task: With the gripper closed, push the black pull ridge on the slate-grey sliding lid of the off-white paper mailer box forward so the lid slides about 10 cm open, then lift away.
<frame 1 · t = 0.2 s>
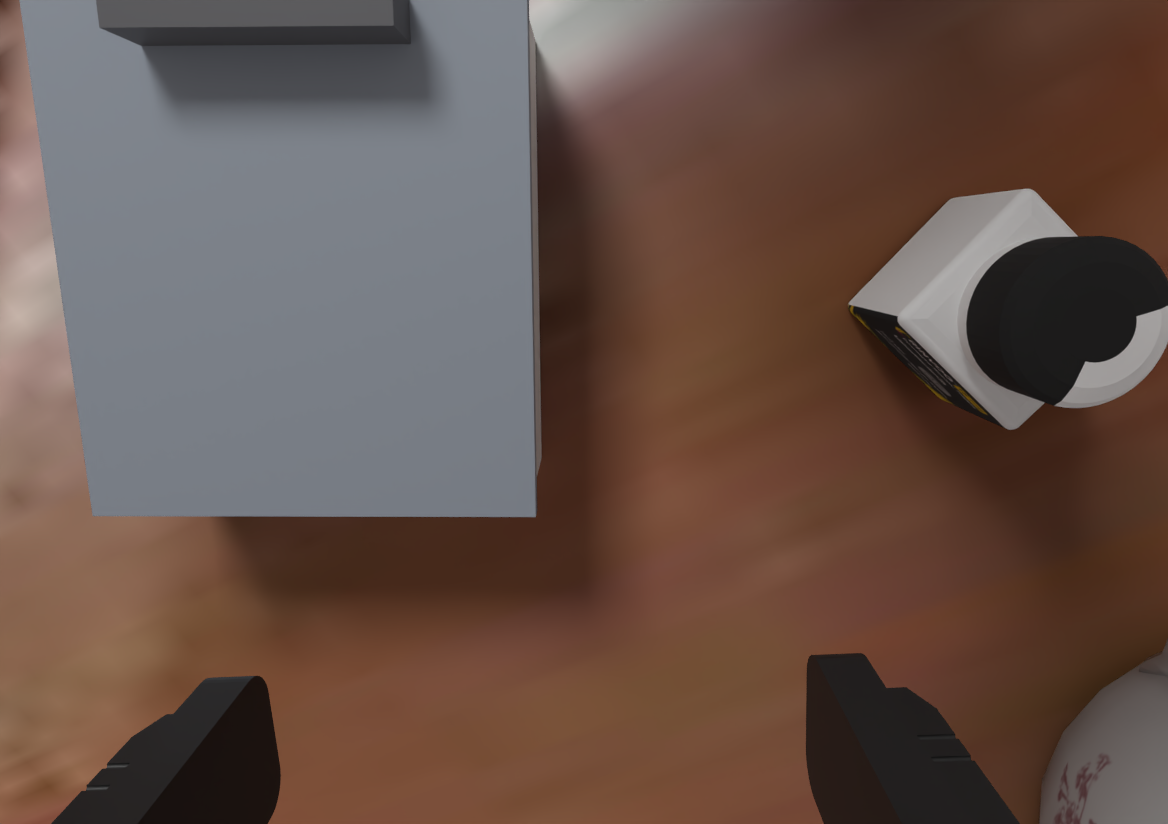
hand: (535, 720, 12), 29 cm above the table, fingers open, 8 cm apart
medicine bottle: (944, 300, 39), on the table
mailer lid: (284, 266, 30), point 9 cm above the table, slide at 0.0 cm
mailer box: (355, 261, 38), on the table
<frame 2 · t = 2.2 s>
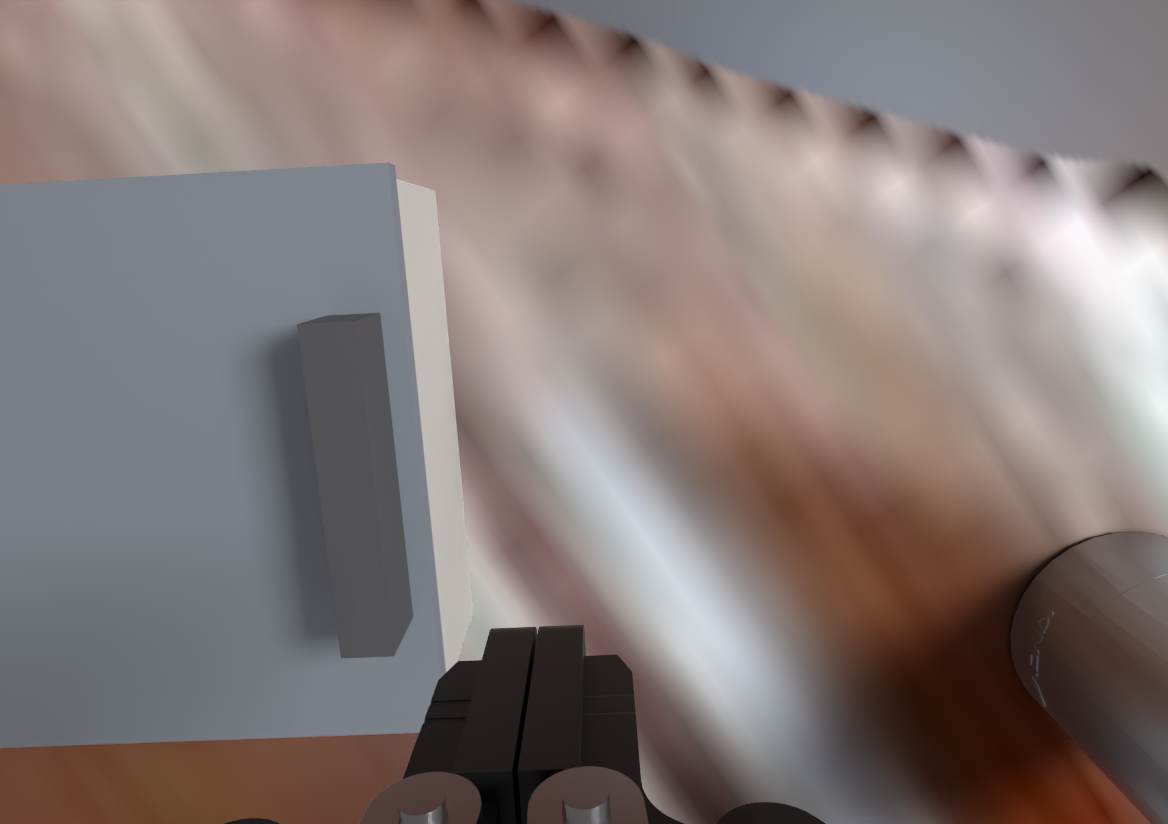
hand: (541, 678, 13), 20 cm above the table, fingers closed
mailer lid: (82, 493, 24), point 9 cm above the table, slide at 0.0 cm
mailer box: (219, 425, 33), on the table
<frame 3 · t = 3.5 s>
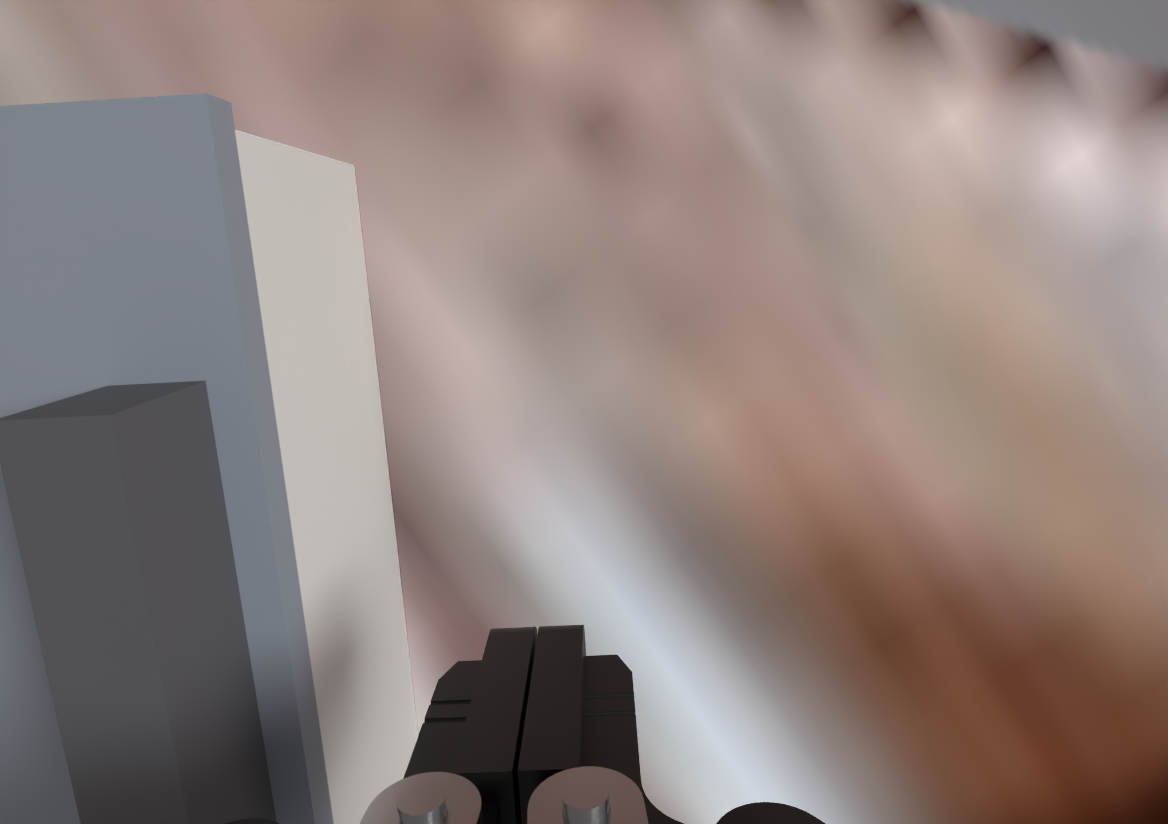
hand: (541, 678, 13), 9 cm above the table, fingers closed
mailer box: (37, 522, 22), on the table
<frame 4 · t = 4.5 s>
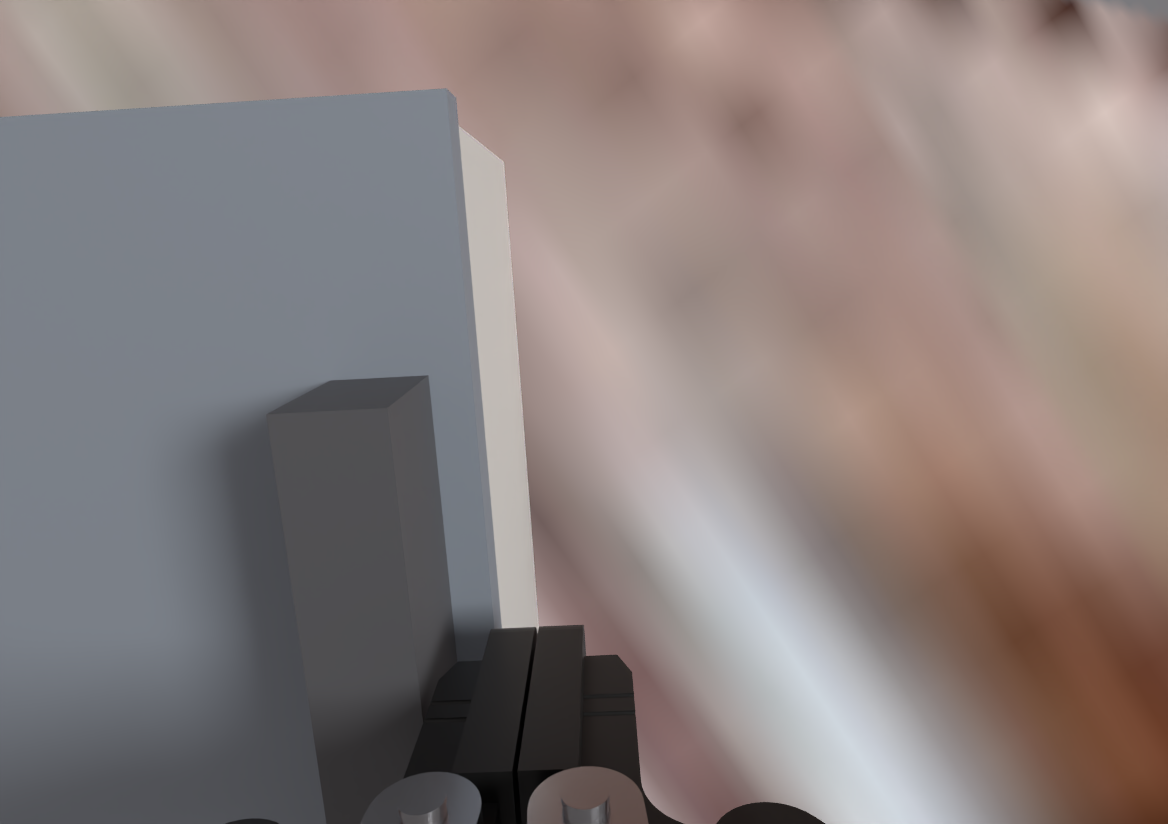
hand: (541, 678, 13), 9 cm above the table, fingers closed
mailer box: (173, 519, 22), on the table
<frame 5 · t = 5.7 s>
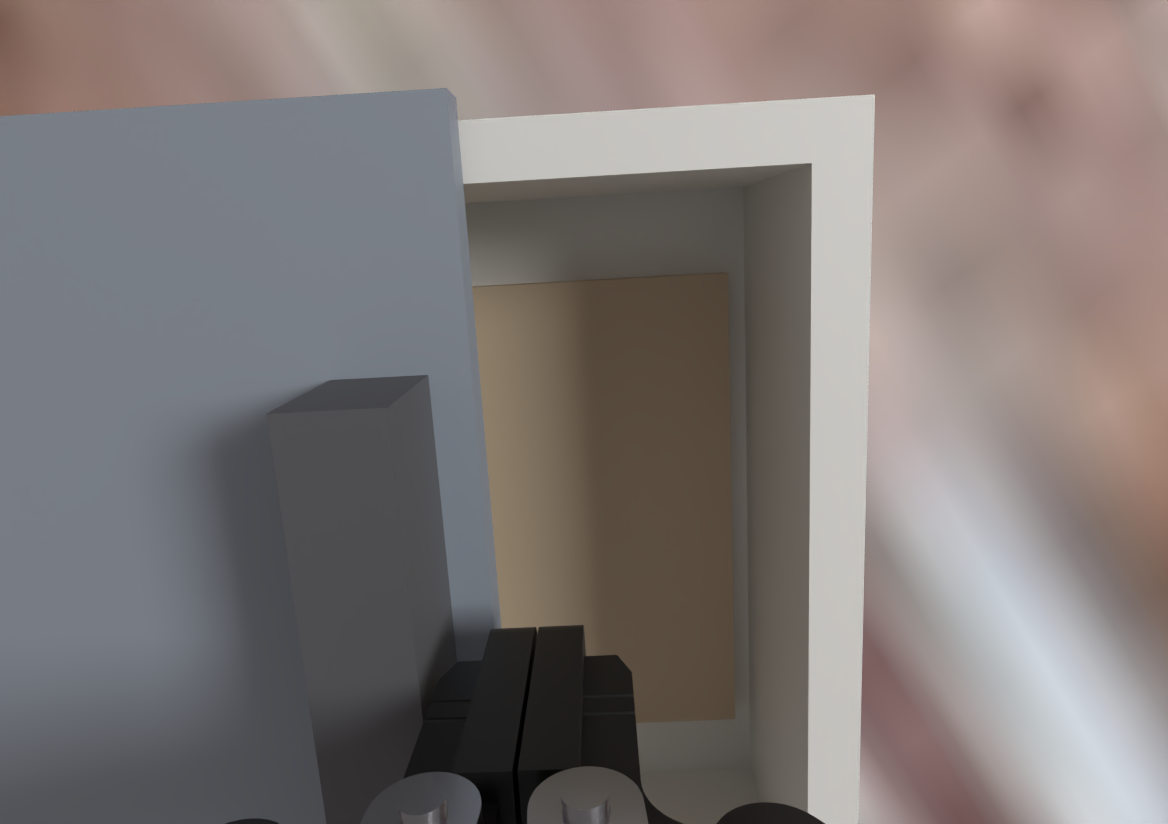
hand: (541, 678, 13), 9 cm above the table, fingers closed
mailer box: (415, 507, 22), on the table
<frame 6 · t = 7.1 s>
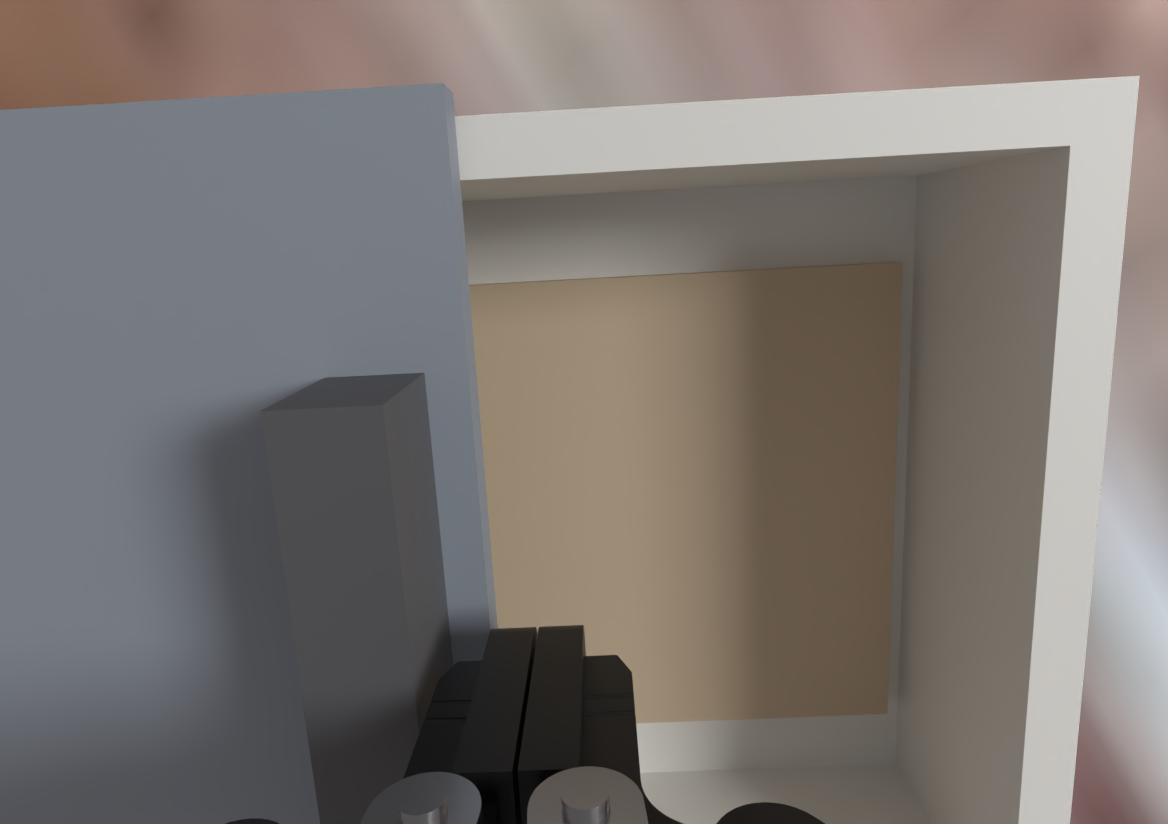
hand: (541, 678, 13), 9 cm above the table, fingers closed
mailer box: (562, 500, 21), on the table
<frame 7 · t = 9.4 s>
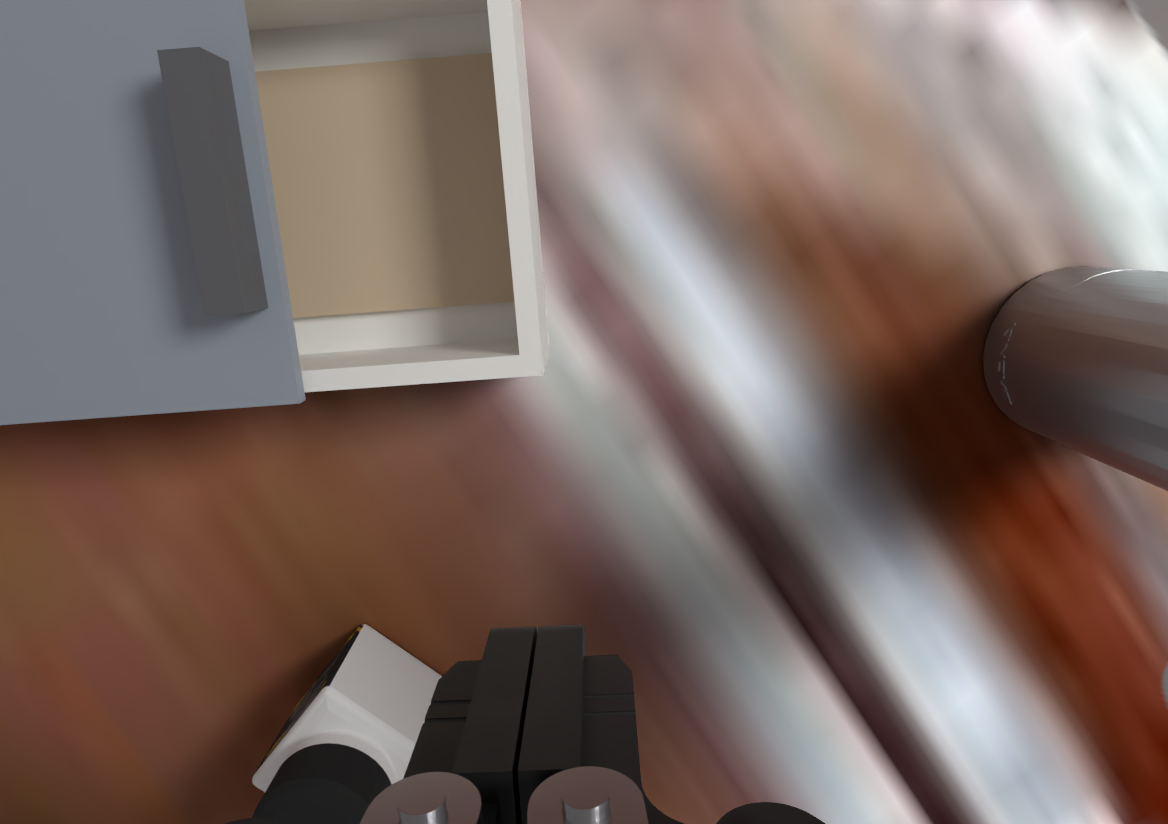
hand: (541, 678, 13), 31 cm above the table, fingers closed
medicine bottle: (379, 693, 47), on the table
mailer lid: (9, 205, 32), point 9 cm above the table, slide at 11.2 cm
mailer box: (344, 195, 41), on the table
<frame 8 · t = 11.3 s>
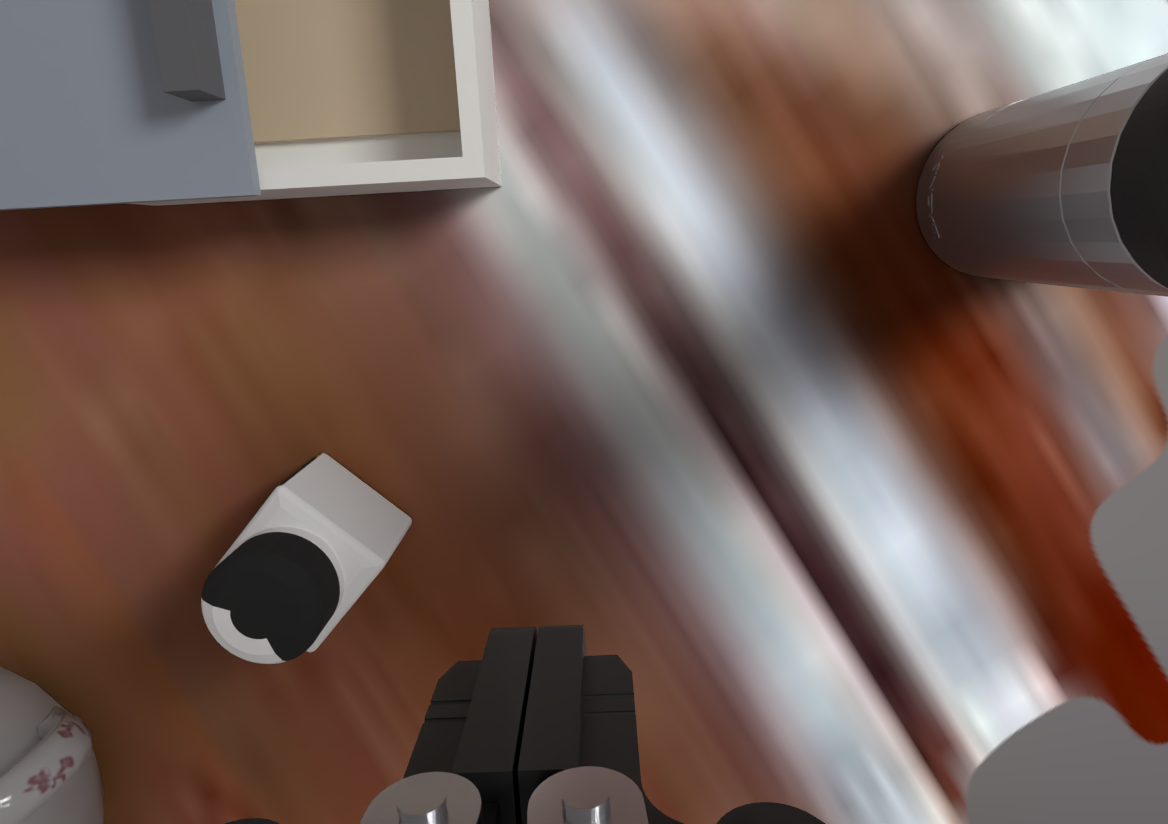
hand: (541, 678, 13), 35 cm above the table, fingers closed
medicine bottle: (337, 524, 50), on the table
mailer box: (308, 26, 43), on the table
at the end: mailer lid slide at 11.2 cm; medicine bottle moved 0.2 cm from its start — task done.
